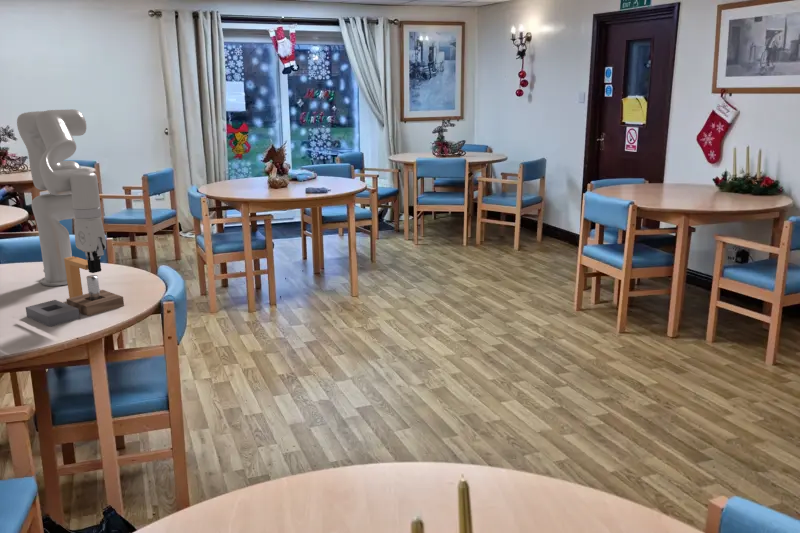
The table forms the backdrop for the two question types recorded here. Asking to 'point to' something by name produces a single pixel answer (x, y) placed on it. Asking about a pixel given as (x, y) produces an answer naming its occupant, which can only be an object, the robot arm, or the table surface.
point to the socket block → (96, 303)
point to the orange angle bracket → (74, 274)
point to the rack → (52, 313)
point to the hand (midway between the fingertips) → (95, 271)
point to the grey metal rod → (93, 287)
